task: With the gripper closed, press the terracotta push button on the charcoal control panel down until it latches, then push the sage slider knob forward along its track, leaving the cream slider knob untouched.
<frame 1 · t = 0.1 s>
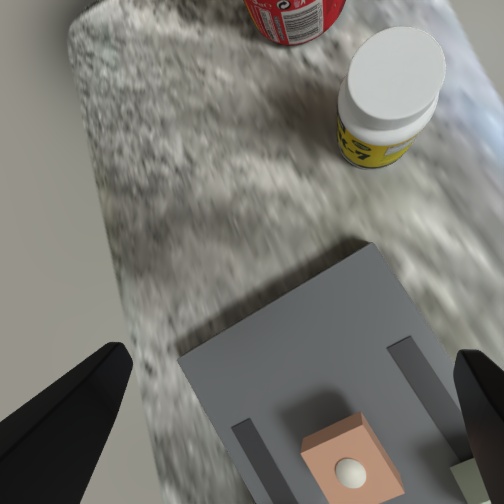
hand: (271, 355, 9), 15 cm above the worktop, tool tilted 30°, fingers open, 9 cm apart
supplement bottle: (372, 137, 22), on the worktop
soda can: (299, 5, 23), on the worktop
control panel: (347, 424, 23), on the worktop
terracotta button: (350, 464, 18), point 4 cm above the worktop, slide at 0.0 cm
sage slider: (503, 501, 17), point 4 cm above the worktop, slide at 0.0 cm
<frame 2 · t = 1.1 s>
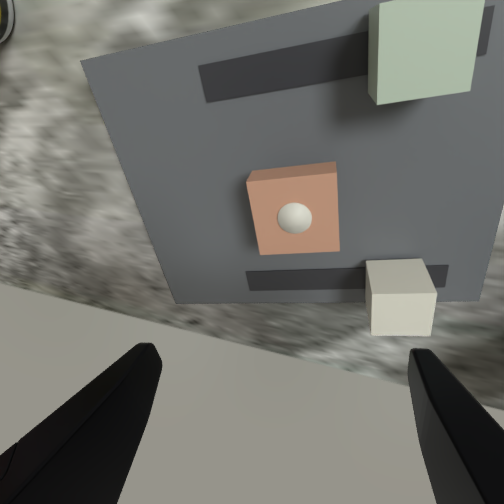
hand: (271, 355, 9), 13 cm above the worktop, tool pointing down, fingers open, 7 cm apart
control panel: (300, 179, 19), on the worktop
terracotta button: (295, 211, 16), point 4 cm above the worktop, slide at 0.0 cm
cream slider: (396, 296, 18), point 4 cm above the worktop, slide at 0.0 cm
sage slider: (416, 47, 12), point 4 cm above the worktop, slide at 0.0 cm
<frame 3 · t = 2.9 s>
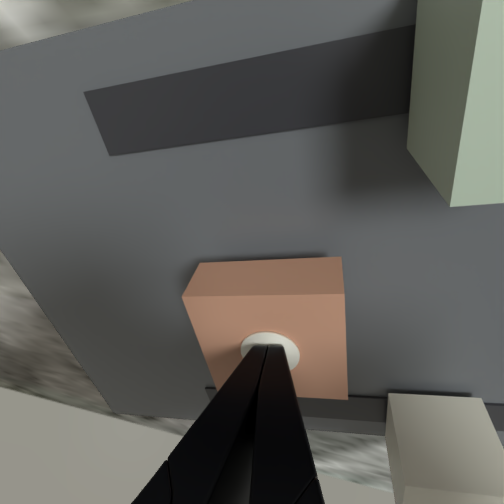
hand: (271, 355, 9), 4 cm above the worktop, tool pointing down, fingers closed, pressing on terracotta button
control panel: (285, 261, 12), on the worktop
terracotta button: (273, 332, 9), point 4 cm above the worktop, slide at 0.7 cm, touching gripper
cream slider: (440, 461, 11), point 4 cm above the worktop, slide at 0.0 cm
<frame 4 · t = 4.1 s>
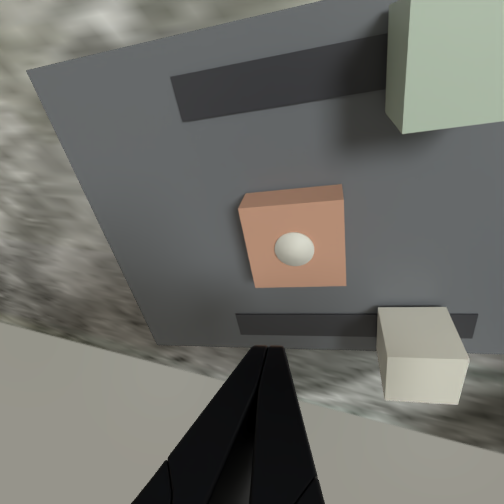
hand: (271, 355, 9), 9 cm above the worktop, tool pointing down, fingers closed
control panel: (299, 209, 16), on the worktop
terracotta button: (295, 240, 14), point 3 cm above the worktop, slide at 1.3 cm
cream slider: (415, 353, 15), point 4 cm above the worktop, slide at 0.0 cm
sage slider: (454, 55, 9), point 4 cm above the worktop, slide at 0.0 cm
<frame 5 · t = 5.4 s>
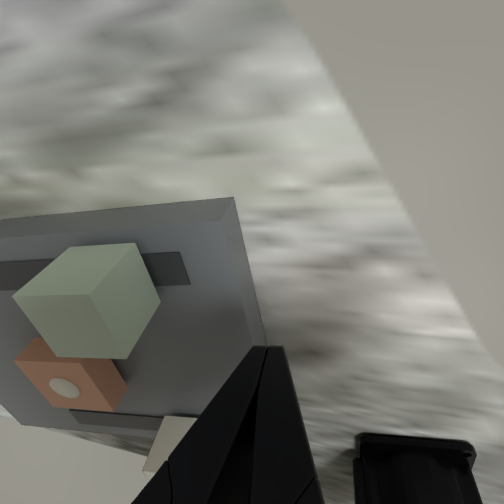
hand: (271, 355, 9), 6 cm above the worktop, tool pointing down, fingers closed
control panel: (104, 333, 20), on the worktop
terracotta button: (73, 375, 17), point 3 cm above the worktop, slide at 1.3 cm
cream slider: (186, 457, 19), point 4 cm above the worktop, slide at 0.0 cm
sage slider: (96, 299, 12), point 4 cm above the worktop, slide at 0.0 cm
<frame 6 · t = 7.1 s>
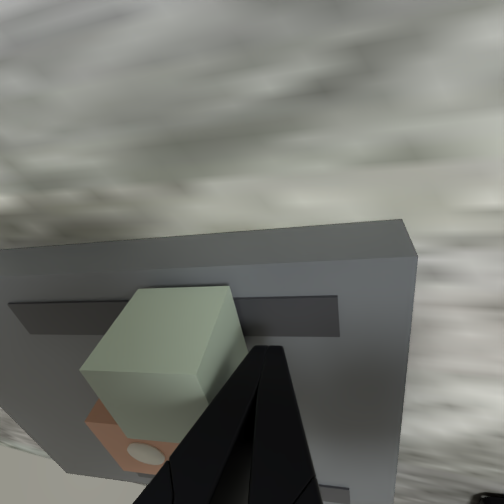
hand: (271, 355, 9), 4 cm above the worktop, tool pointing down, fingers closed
control panel: (179, 375, 16), on the worktop
terracotta button: (153, 435, 14), point 3 cm above the worktop, slide at 1.3 cm
sage slider: (178, 361, 9), point 4 cm above the worktop, slide at 1.5 cm, touching gripper
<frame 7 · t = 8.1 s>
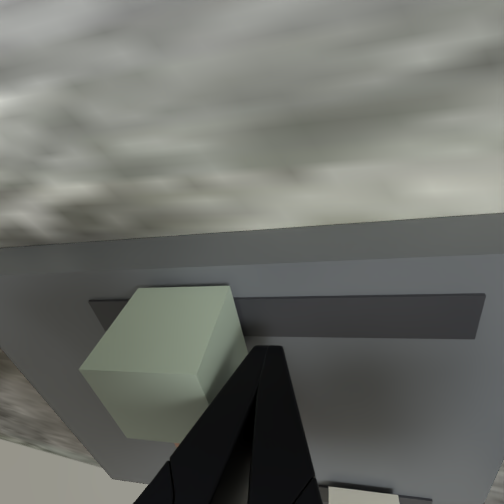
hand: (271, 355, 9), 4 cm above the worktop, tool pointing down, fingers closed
control panel: (247, 378, 15), on the worktop
terracotta button: (233, 443, 13), point 3 cm above the worktop, slide at 1.3 cm
sage slider: (178, 361, 9), point 4 cm above the worktop, slide at 5.1 cm, touching gripper
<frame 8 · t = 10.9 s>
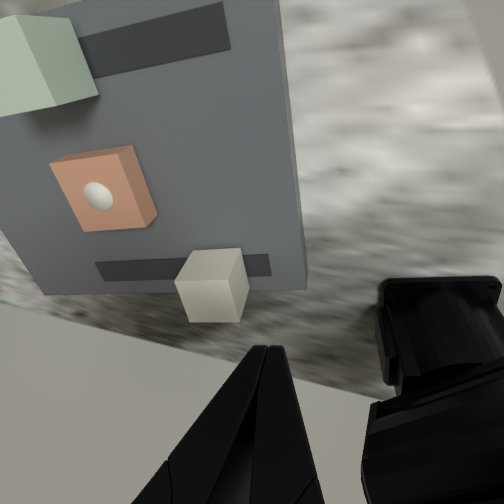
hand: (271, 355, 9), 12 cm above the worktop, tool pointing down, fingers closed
control panel: (132, 171, 20), on the worktop
terracotta button: (106, 191, 18), point 3 cm above the worktop, slide at 1.3 cm
cream slider: (215, 284, 19), point 4 cm above the worktop, slide at 0.0 cm
sage slider: (34, 67, 14), point 4 cm above the worktop, slide at 5.2 cm
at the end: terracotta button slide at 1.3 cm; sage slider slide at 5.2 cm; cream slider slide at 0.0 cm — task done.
